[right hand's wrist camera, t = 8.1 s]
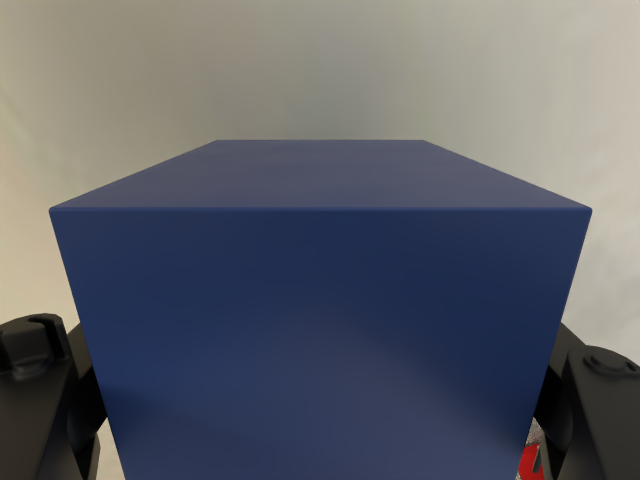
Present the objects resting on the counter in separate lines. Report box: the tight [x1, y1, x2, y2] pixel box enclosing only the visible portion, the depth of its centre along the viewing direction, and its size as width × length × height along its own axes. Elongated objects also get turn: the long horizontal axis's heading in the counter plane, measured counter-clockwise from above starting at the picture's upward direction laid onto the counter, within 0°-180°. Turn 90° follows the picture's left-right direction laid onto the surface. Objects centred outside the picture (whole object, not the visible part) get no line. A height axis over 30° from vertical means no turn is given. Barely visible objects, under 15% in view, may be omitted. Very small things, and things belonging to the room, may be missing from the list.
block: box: [49, 140, 592, 480], centre depth 11 cm, size 9×8×9 cm
